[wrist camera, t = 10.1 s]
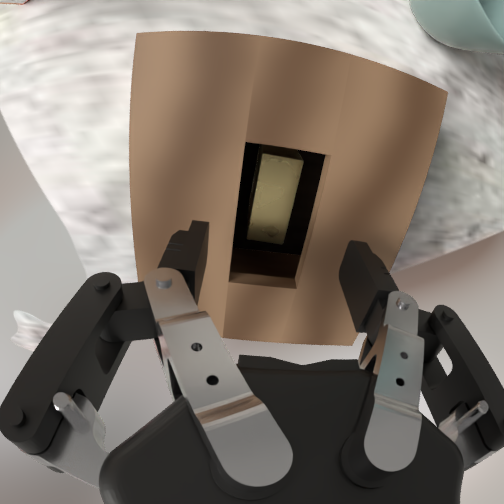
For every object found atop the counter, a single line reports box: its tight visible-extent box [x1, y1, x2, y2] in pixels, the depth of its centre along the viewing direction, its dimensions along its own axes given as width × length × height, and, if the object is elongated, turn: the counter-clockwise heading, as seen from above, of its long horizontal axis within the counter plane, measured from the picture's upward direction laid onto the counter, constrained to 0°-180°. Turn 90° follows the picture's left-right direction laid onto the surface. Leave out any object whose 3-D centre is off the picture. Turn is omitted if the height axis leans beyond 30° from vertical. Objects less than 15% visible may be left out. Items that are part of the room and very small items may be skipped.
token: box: [247, 144, 304, 244], centre depth 21 cm, size 2×6×6 cm, turn 171°
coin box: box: [129, 31, 448, 346], centre depth 19 cm, size 15×18×10 cm
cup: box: [409, 0, 504, 55], centre depth 10 cm, size 8×8×10 cm
